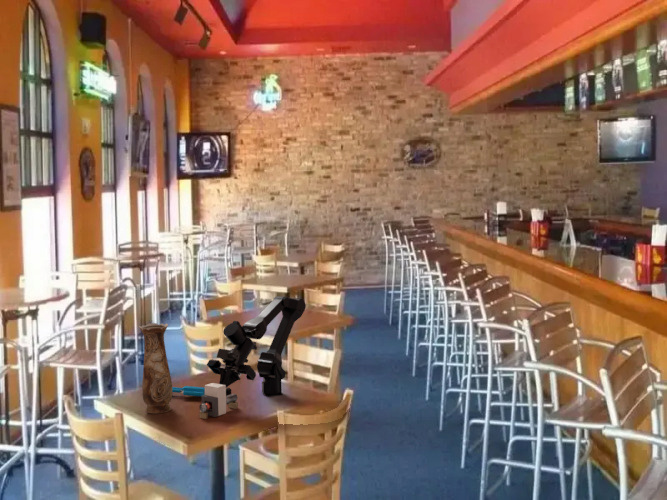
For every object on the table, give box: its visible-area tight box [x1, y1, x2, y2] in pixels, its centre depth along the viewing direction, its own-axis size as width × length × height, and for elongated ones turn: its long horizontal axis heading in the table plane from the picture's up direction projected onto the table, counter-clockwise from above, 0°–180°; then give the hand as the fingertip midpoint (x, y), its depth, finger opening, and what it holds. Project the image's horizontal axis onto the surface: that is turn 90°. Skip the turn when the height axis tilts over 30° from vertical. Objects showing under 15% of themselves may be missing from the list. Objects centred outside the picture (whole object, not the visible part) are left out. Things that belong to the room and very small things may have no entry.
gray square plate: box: [201, 395, 219, 418], centre depth 274 cm, size 2×6×6 cm, turn 55°
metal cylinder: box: [198, 393, 239, 420], centre depth 277 cm, size 16×3×5 cm, turn 145°
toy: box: [172, 385, 232, 398], centre depth 298 cm, size 8×6×30 cm
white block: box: [204, 382, 227, 417], centre depth 276 cm, size 4×6×10 cm, turn 55°
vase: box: [138, 322, 173, 414], centre depth 280 cm, size 10×11×30 cm
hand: (219, 390), depth 277 cm, fingers closed, pressing on white block
